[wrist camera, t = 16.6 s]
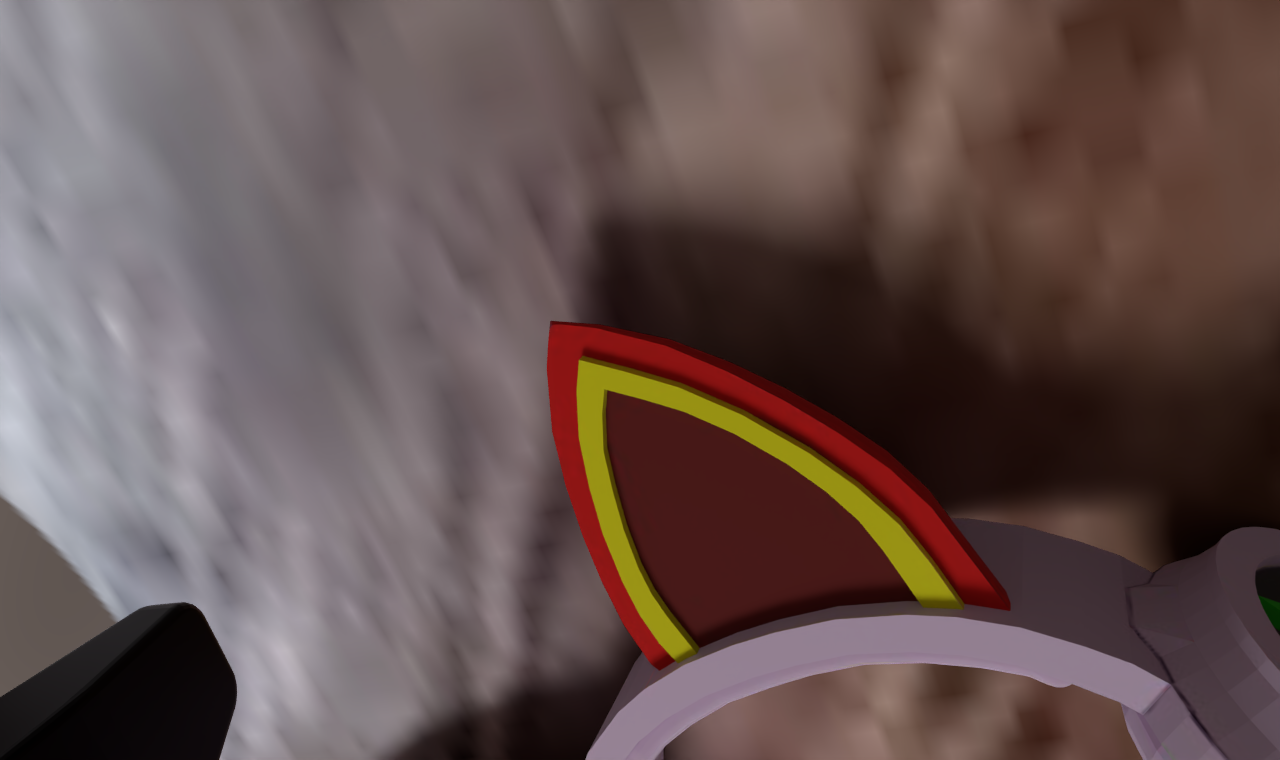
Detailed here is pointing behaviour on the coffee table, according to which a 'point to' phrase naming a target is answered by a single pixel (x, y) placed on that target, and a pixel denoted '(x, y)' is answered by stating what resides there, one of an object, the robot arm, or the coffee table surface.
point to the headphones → (870, 565)
